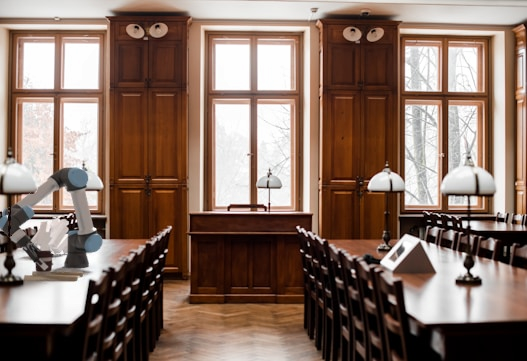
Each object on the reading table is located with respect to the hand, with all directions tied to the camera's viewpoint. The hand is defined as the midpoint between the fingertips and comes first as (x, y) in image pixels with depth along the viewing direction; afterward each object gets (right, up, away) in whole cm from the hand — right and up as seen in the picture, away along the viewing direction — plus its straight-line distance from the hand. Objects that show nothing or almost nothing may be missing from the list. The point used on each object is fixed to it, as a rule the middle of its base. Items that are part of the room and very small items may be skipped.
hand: (49, 267), depth 319 cm
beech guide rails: (+3, -6, 0) cm, 7 cm away
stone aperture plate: (+10, -6, +1) cm, 12 cm away
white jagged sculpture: (-34, -6, +96) cm, 102 cm away
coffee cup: (-3, -6, 0) cm, 7 cm away
